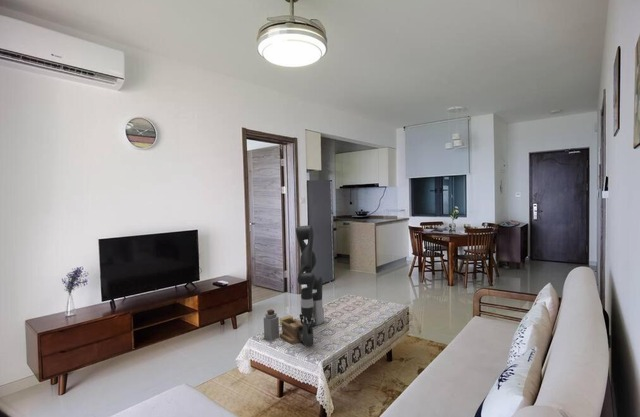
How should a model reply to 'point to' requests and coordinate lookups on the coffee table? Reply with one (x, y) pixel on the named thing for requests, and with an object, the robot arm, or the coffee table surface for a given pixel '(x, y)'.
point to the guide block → (291, 331)
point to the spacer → (286, 320)
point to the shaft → (305, 335)
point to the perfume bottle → (271, 325)
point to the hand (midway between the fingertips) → (307, 332)
